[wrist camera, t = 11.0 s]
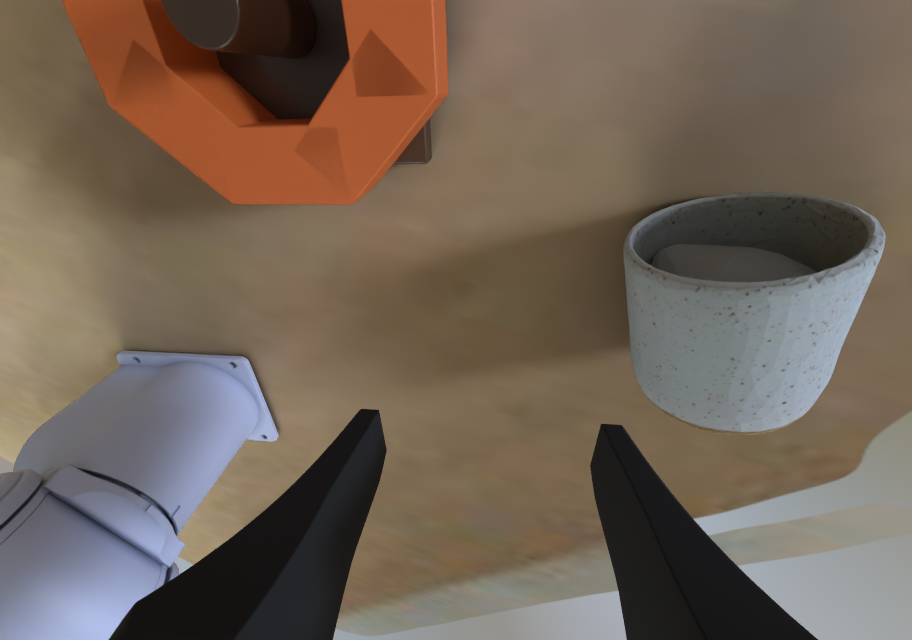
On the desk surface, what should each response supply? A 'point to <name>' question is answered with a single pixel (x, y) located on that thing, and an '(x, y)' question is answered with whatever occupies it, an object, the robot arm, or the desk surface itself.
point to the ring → (248, 122)
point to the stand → (279, 52)
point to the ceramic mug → (745, 304)
